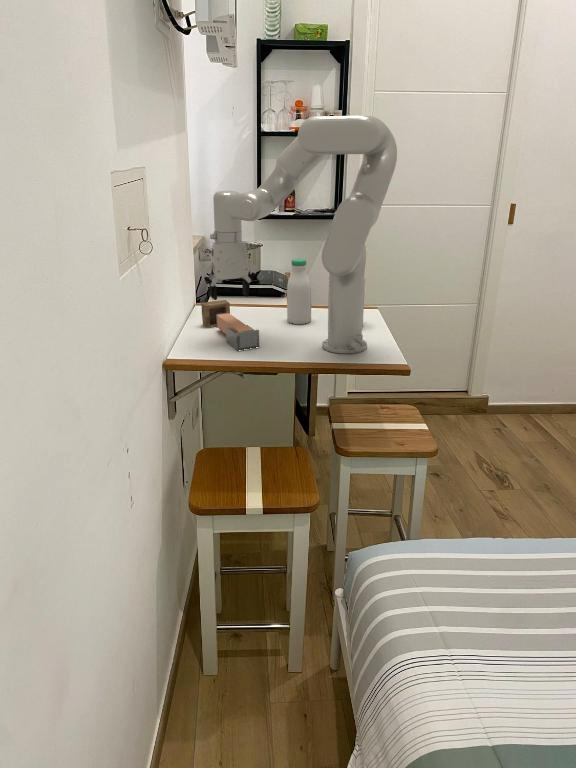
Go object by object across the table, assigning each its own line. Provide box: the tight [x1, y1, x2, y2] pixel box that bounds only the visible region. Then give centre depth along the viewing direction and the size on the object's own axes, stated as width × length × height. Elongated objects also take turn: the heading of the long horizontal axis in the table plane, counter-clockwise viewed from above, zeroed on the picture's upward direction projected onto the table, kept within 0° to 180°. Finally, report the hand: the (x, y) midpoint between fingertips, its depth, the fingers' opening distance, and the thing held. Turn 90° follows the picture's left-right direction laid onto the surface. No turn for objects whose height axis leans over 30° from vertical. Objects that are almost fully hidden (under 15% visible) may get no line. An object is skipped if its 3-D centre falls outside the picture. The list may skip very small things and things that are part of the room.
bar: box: [216, 313, 254, 335], centre depth 179 cm, size 20×4×4 cm, turn 25°
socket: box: [200, 299, 231, 329], centre depth 193 cm, size 4×8×7 cm, turn 115°
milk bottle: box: [286, 258, 312, 325], centre depth 193 cm, size 8×8×20 cm
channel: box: [225, 324, 260, 352], centre depth 174 cm, size 9×7×5 cm
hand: (230, 297), depth 177 cm, fingers open, 9 cm apart
